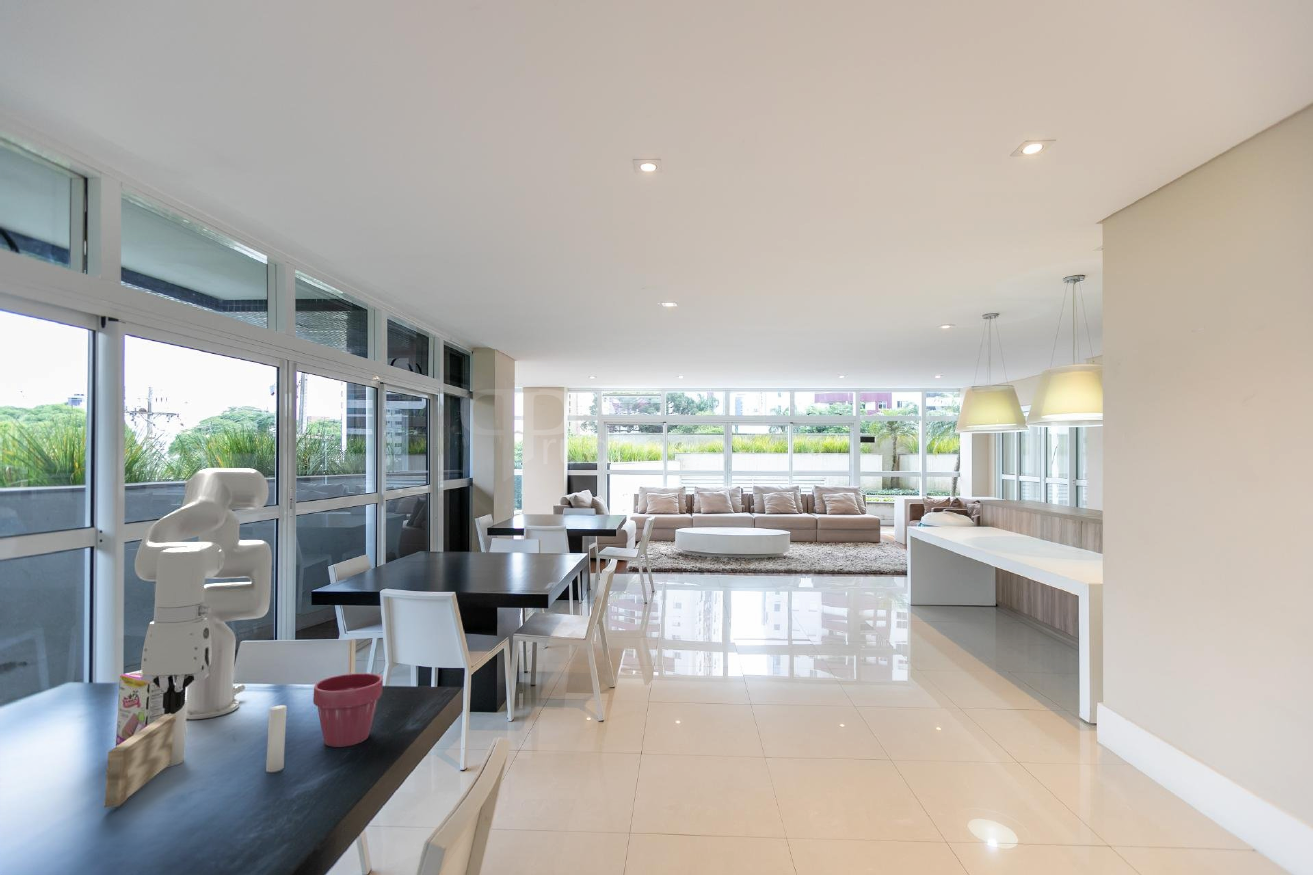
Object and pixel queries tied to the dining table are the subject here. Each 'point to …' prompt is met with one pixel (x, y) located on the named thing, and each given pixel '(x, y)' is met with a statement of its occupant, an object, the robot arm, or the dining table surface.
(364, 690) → the plant pot
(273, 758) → the gate posts
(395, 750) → the dining table surface
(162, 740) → the gate
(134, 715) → the candy bar box
